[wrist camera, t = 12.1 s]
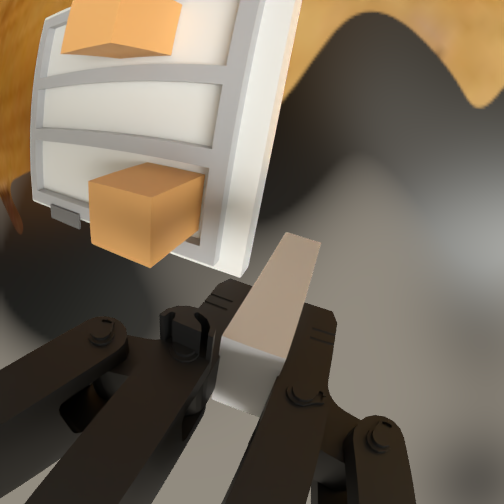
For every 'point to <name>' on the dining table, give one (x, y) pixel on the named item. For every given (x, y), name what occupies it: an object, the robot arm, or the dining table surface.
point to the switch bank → (169, 117)
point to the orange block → (121, 28)
